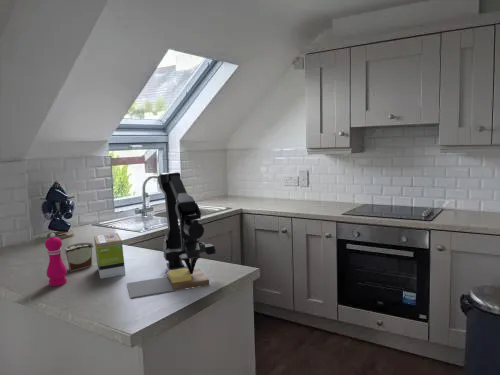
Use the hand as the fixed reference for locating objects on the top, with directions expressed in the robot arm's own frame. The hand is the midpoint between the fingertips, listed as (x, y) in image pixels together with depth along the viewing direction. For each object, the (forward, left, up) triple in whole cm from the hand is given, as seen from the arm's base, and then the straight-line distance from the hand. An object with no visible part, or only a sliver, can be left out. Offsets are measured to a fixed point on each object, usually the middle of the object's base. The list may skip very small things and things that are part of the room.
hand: (191, 274), depth 164 cm
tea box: (-28, -28, -3) cm, 39 cm away
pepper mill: (-23, -48, -3) cm, 53 cm away
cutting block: (0, -2, -3) cm, 3 cm away
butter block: (0, -5, 0) cm, 5 cm away
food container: (-42, -41, -3) cm, 58 cm away
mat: (0, -16, -3) cm, 16 cm away
